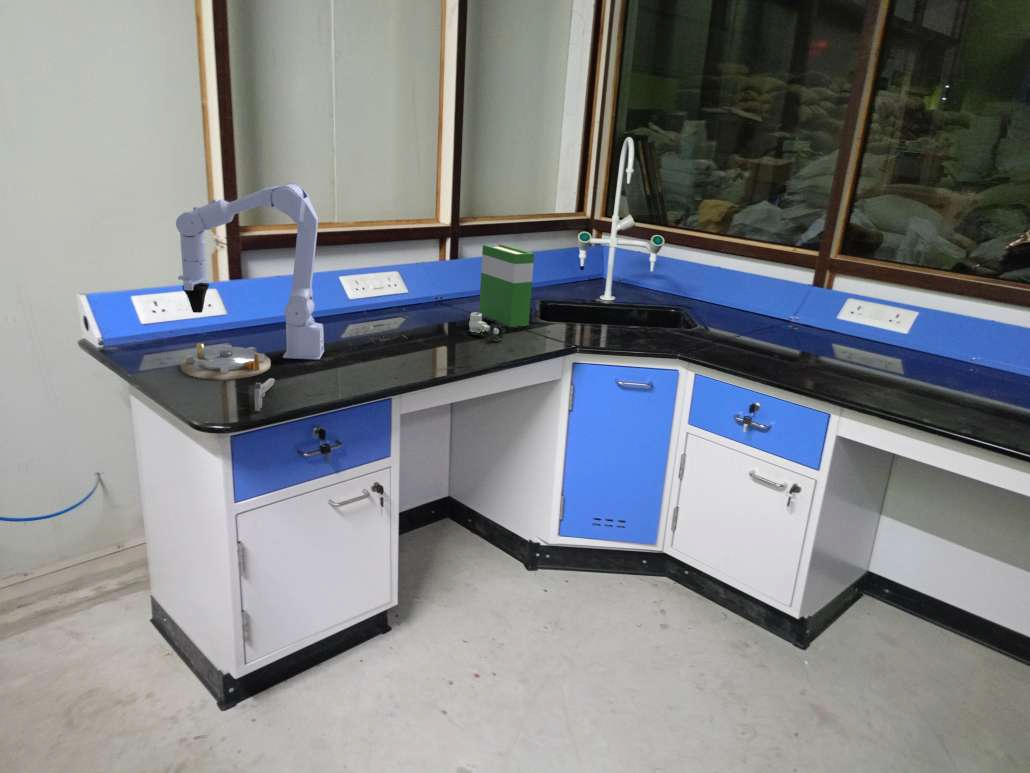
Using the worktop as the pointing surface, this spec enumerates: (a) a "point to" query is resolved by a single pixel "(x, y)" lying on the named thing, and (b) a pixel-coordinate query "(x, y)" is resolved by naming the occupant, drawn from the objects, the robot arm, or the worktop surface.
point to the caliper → (261, 392)
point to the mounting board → (233, 374)
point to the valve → (485, 326)
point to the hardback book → (506, 284)
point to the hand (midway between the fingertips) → (197, 312)
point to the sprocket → (223, 358)
